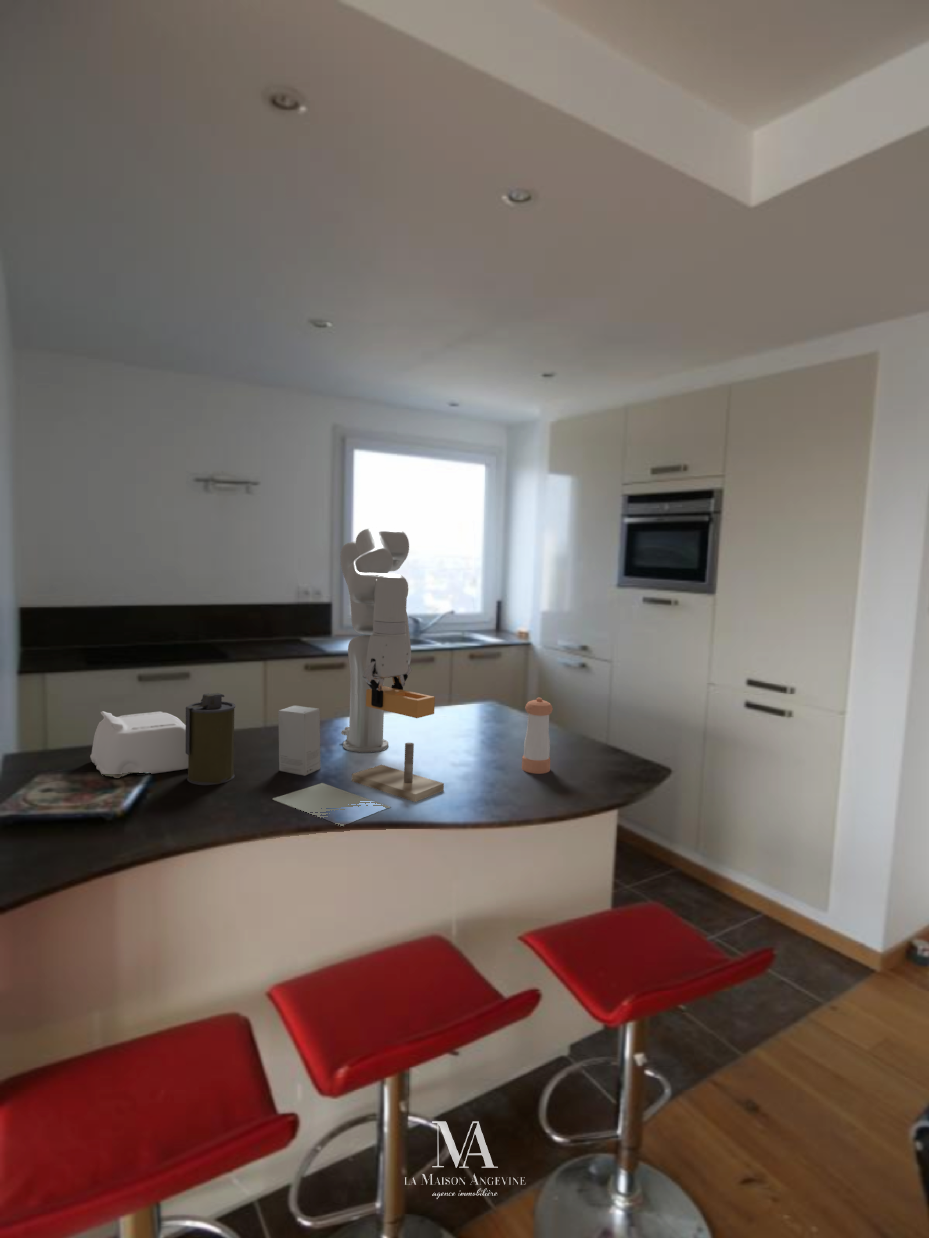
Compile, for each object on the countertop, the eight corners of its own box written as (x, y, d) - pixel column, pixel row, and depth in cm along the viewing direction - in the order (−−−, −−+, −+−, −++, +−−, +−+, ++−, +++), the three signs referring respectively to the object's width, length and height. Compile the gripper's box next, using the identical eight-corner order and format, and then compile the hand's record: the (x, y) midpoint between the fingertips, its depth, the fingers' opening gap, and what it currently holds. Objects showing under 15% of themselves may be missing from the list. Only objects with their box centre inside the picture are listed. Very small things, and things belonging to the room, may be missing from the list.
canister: (222, 768, 165) (223, 688, 163) (242, 779, 157) (243, 695, 155) (178, 777, 157) (178, 693, 155) (196, 789, 150) (197, 701, 148)
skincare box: (320, 769, 167) (322, 708, 165) (304, 777, 161) (305, 713, 159) (294, 764, 170) (295, 704, 169) (276, 771, 164) (277, 709, 163)
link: (434, 713, 153) (434, 696, 152) (416, 718, 148) (417, 700, 148) (383, 702, 162) (384, 686, 162) (365, 706, 158) (366, 689, 157)
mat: (272, 800, 145) (272, 798, 145) (322, 784, 156) (322, 782, 156) (342, 828, 132) (342, 826, 132) (390, 808, 143) (391, 806, 143)
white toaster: (87, 762, 166) (86, 709, 164) (210, 745, 184) (210, 698, 183) (101, 785, 151) (101, 726, 149) (234, 764, 169) (235, 712, 168)
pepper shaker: (515, 769, 173) (519, 697, 171) (532, 764, 178) (536, 693, 177) (538, 776, 168) (542, 702, 167) (555, 770, 174) (559, 698, 172)
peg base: (351, 782, 159) (352, 736, 158) (381, 772, 167) (382, 729, 166) (415, 803, 147) (416, 754, 146) (443, 791, 155) (445, 745, 154)
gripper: (402, 624, 165) (400, 696, 167) (351, 629, 151) (348, 707, 153) (425, 627, 160) (422, 701, 162) (374, 632, 147) (372, 713, 148)
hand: (387, 703), depth 157 cm, fingers closed on link, 6 cm apart
